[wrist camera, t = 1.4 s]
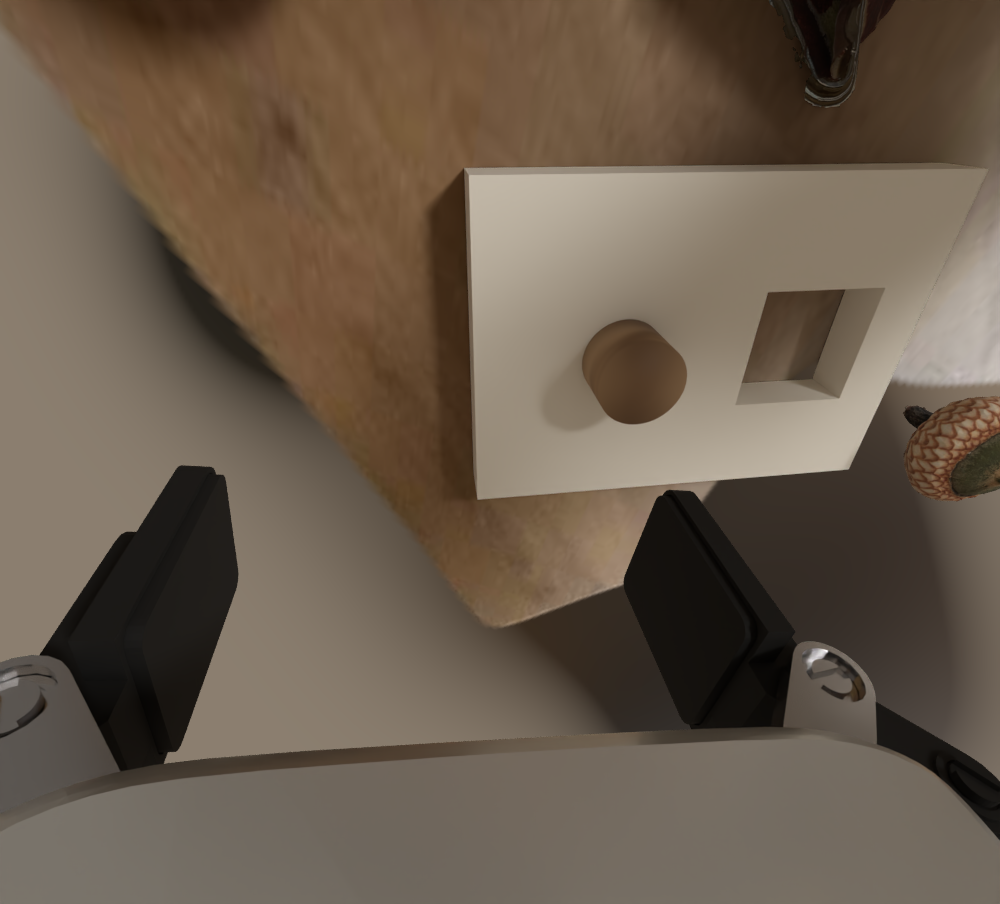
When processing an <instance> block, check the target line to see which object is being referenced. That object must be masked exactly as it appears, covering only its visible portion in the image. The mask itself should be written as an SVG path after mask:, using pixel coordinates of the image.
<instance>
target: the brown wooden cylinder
mask: <svg viewBox="0 0 1000 904" xmlns="http://www.w3.org/2000/svg"><path fill="white" fill-rule="evenodd" d="M582 371H583V375H584V378H585V380H586V382H587V383H588V385H589V387H590V388H591V390H592V392H593V393H594V395H595V397H596V398H597V400H598V402H599V403H600V405H601V407H602V408H603V410H604V412H605V413H606V414H607V415H608V416H609V417H611V418H612V419H614V420H615V421H617V422H620V423H624V424H630V425H633V424H643V423H647V422H650V421H653V420H655V419H657V418H659V417H661V416H662V415H664V414H665V413H666V412H668V411H669V410H670V409H671V408H672V407H673V406H674V405H675V404H676V403H677V401H678V400H679V398H680V397H681V395H682V393H683V391H684V389H685V385H686V381H687V368H686V364H685V362H684V359H683V358H682V356H681V355H680V354H679V353H678V352H677V351H676V350H675V349H674V348H673V347H672V346H671V345H670V344H669V343H668V342H667V341H666V340H665V339H664V338H663V337H662V336H661V335H660V334H659V333H658V332H657V331H656V330H655V329H654V328H653V327H652V326H650V325H649V324H647V323H645V322H643V321H640V320H635V319H626V320H620V321H616V322H614V323H611V324H609V325H607V326H605V327H604V328H602V329H601V330H600V331H599V332H597V333H596V334H595V335H594V337H593V338H592V339H591V340H590V342H589V343H588V345H587V347H586V349H585V351H584V355H583V359H582Z"/></svg>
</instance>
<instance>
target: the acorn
mask: <svg viewBox="0 0 1000 904" xmlns="http://www.w3.org/2000/svg"><path fill="white" fill-rule="evenodd" d="M905 408H906V410H905V412H903V414H904V416H905V418H906V419H907V420H908V422H909V423H910V424H912V425H913V426H914V427H916V428H917V430H916V431H915V432H914V433H913V434H912V437H911V439H910V440H909V442H908V443H907V449H906V451H905V453H904V463H905V469H906V471H907V475H908V478H909V480H910V483H911V485H912V486H913V488H914V489H915V490H916V491H917V492H918V493H921V494H922V495H924V496H926V497H928V498H930V499H935V500H941V501H959V500H962V499H966V498H971V497H976V496H978V495H980V494H985V493H988V492H992V491H995V490H997V489H999V488H1000V397H997V396H991V397H975V398H967V399H965V400H961V401H956V402H951V403H950V404H949V405H947V406H946V407H943V408H941V409H938V410H937V411H935V412H934V413H931V412H929V411H927V410H926V409H925V408H921V407H919V406H906V407H905Z"/></svg>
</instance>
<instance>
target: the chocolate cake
mask: <svg viewBox="0 0 1000 904" xmlns="http://www.w3.org/2000/svg"><path fill="white" fill-rule="evenodd" d="M894 2H895V0H769V3H770V4H771V5H772V6H773V7H774V8H775V9H776V10H777V13H778V15H779V16H781V15H782V16H783V20H784V23H785V26H784V27H783V30H784V32H785V35H786V38H788V39H791V40H792V39H793V37H795V36H796V37H797V38H798V39H799V40H800V42H801V45H802V52H801V54H800V57H799V55H798V52H796V54H795V62H799V61H800V62H802V61H803V62H805V63H806V64H807V65H808V67H809V68H810V69H811V72H812V75H811V76H810V77H809V78H808V80H807V81H806V89H805V101H808V102H809V103H811V104H813V106H819V107H821V106H824V107H825V108H828V107H840V104H841V103H843V102H845V100H847V99H848V97H850V96H851V93H852V92H853V90H854V91H855V81H856V76H857V69H858V53H859V44H860V43H862V42H863V41H864V39H865V38H866V37H867V36H868V35H869V34H870V33H871V32H873V31H874V30H875V28H876V25H877V24H878V22H879V21H880V20H881V19H882V18H883V17H884V16H885V15H886V14H887V13H888V11H889V10H890V8H891V7H892V5H893V3H894ZM793 50H794V51H796V49H795V48H794V47H793ZM801 64H802V63H800V66H799V67H800V68H802V65H801Z"/></svg>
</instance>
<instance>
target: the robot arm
mask: <svg viewBox="0 0 1000 904" xmlns="http://www.w3.org/2000/svg"><path fill="white" fill-rule="evenodd" d="M237 583H238V566H237V559H236V552H235V545H234V538H233V530H232V523H231V515H230V508H229V501H228V493H227V486H226V480H225V477H224V475H216V473H215V470H214V468H212V467H202V466H179V467H178V468H177V469H176V470H175V472H174V474H173V476H172V477H171V478H170V480H169V482H168V483H167V485H166V486H165V488H164V489H163V491H162V493H161V494H160V496H159V497H158V499H157V501H156V502H155V504H154V505H153V507H152V509H151V510H150V512H149V513H148V515H147V516H146V518H145V519H144V521H143V523H142V524H141V526H140V527H139V529H138V531H137V532H125V533H123V534H121V535H120V536H119V538H118V539H117V540H116V541H115V543H114V544H113V546H112V547H111V548H110V550H109V552H108V553H107V554H106V556H105V558H104V559H103V561H102V562H101V564H100V565H99V566H98V568H97V570H96V571H95V572H94V574H93V575H92V577H91V578H90V580H89V581H88V583H87V585H86V586H85V587H84V589H83V591H82V592H81V593H80V595H79V596H78V598H77V600H76V601H75V602H74V604H73V606H72V607H71V609H70V610H69V612H68V613H67V615H66V616H65V618H64V619H63V621H62V622H61V624H60V625H59V627H58V628H57V630H56V631H55V633H54V634H53V636H52V637H51V639H50V640H49V642H48V643H47V645H46V646H45V648H44V649H43V651H42V652H41V654H40V655H39V656H38V655H29V656H23V657H17V658H12V659H9V660H6V661H3V662H0V904H1000V781H999V780H998V779H997V778H996V777H995V776H994V775H993V774H992V773H991V772H989V771H988V770H987V769H986V768H985V767H984V766H983V765H982V764H980V763H979V762H977V761H976V760H974V759H973V758H971V757H970V756H968V755H967V754H965V753H963V752H962V751H960V750H958V749H956V748H954V747H953V746H951V745H950V744H948V743H946V742H944V741H943V740H941V739H939V738H937V737H935V736H934V735H932V734H931V733H929V732H927V731H925V730H924V729H922V728H920V727H918V726H917V725H915V724H913V723H911V722H910V721H908V720H906V719H905V718H903V717H901V716H900V715H898V714H896V713H894V712H893V711H891V710H889V709H887V708H886V707H884V706H882V705H881V704H879V703H877V702H875V692H874V688H873V685H872V684H871V682H870V680H869V678H868V676H867V675H866V674H865V672H864V671H863V670H862V669H861V668H860V667H859V666H858V665H857V664H856V663H855V662H854V661H853V660H851V659H850V658H849V657H848V656H847V655H845V654H843V653H842V652H840V651H838V650H837V649H835V648H832V647H830V646H828V645H825V644H823V643H818V642H812V641H811V642H802V643H801V644H799V645H797V644H796V643H795V641H794V640H793V639H792V636H793V635H794V633H795V630H794V629H793V628H792V626H791V625H790V623H789V622H788V621H787V619H786V618H785V617H784V615H783V614H782V612H781V611H780V610H779V608H778V607H777V606H776V604H775V603H774V601H773V600H772V599H771V597H770V596H769V595H768V593H767V592H766V590H765V589H764V588H763V586H762V585H761V584H760V582H759V581H758V579H757V578H756V577H755V576H754V574H753V573H752V571H751V570H750V569H749V567H748V566H747V564H746V563H745V562H744V560H743V559H742V557H741V556H740V555H739V553H738V552H737V551H736V549H735V548H734V547H733V545H732V544H731V542H730V541H729V540H728V538H727V537H726V536H725V534H724V533H723V531H722V530H721V529H720V527H719V526H718V525H717V523H716V522H715V520H714V519H713V518H712V516H711V515H710V514H709V512H708V511H707V509H706V508H705V507H704V505H703V504H702V503H701V501H700V500H699V498H698V497H697V496H696V494H694V493H693V492H691V491H679V490H668V491H666V492H665V493H664V494H663V496H659V497H658V498H657V499H656V501H655V503H654V506H653V508H652V511H651V513H650V515H649V518H648V520H647V523H646V525H645V528H644V530H643V532H642V535H641V537H640V540H639V542H638V545H637V547H636V549H635V552H634V554H633V557H632V559H631V562H630V564H629V566H628V569H627V571H626V574H625V577H624V589H625V592H626V595H627V597H628V599H629V602H630V604H631V606H632V608H633V611H634V613H635V615H636V617H637V620H638V622H639V624H640V626H641V629H642V631H643V633H644V636H645V638H646V640H647V642H648V645H649V647H650V649H651V651H652V654H653V656H654V658H655V660H656V663H657V665H658V667H659V670H660V672H661V674H662V676H663V678H664V681H665V683H666V685H667V687H668V690H669V692H670V694H671V697H672V699H673V701H674V704H675V706H676V708H677V710H678V713H679V715H680V717H681V719H682V720H683V721H684V723H686V724H689V725H690V727H691V729H690V730H670V731H652V732H651V731H649V732H630V733H609V734H590V735H571V736H553V737H536V738H517V739H499V740H483V741H464V742H446V743H430V744H413V745H397V746H381V747H364V748H348V749H332V750H315V751H300V752H287V753H274V754H261V755H249V756H235V757H222V758H209V759H200V760H192V761H184V762H175V763H167V764H164V761H165V758H166V756H167V753H168V752H176V751H177V750H178V749H179V747H180V746H181V743H182V741H183V738H184V735H185V733H186V730H187V727H188V724H189V721H190V718H191V716H192V713H193V710H194V707H195V704H196V701H197V698H198V696H199V693H200V690H201V687H202V685H203V682H204V679H205V676H206V673H207V670H208V668H209V665H210V662H211V659H212V656H213V653H214V651H215V648H216V645H217V642H218V639H219V636H220V634H221V631H222V628H223V625H224V622H225V619H226V617H227V614H228V611H229V608H230V605H231V602H232V599H233V597H234V594H235V591H236V588H237Z"/></svg>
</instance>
